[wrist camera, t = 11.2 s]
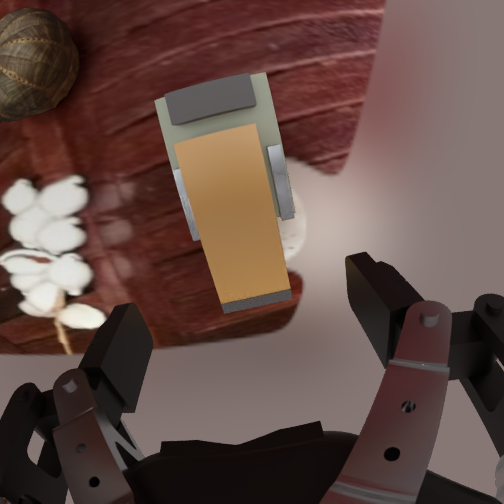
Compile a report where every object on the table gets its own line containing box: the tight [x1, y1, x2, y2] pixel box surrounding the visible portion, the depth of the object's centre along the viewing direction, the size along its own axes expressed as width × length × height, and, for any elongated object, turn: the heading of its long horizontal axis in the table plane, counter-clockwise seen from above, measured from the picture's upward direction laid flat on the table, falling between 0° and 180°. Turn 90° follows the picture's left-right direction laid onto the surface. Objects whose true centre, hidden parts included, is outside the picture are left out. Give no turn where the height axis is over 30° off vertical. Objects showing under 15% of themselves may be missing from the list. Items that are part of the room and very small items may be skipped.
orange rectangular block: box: [173, 123, 292, 313], centre depth 22 cm, size 12×5×6 cm, turn 13°
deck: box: [154, 72, 295, 241], centre depth 24 cm, size 12×9×8 cm
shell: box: [0, 8, 79, 122], centre depth 16 cm, size 11×11×12 cm
